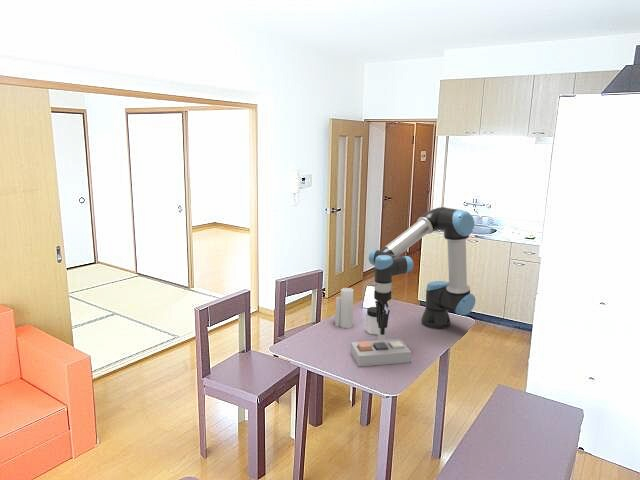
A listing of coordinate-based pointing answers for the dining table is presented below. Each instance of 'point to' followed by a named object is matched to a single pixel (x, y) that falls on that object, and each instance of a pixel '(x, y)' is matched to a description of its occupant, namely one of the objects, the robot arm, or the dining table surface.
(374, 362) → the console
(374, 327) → the jar
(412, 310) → the dining table surface
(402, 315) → the dining table surface
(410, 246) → the robot arm
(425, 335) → the dining table surface
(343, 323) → the grey stepped double column
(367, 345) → the terracotta key
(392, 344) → the ivory key
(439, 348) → the dining table surface
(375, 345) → the charcoal key
